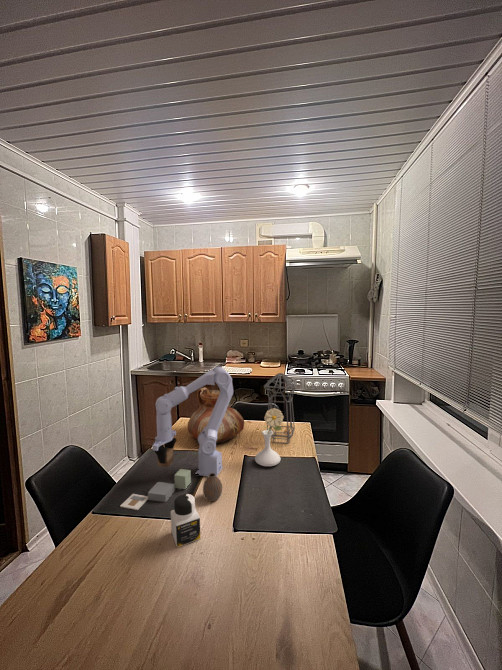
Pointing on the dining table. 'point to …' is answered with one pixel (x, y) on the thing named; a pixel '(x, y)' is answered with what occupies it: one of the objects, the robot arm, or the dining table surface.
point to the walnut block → (167, 458)
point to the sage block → (182, 478)
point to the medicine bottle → (185, 520)
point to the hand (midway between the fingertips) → (165, 459)
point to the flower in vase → (267, 454)
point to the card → (134, 501)
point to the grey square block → (161, 491)
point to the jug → (200, 418)
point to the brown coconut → (212, 487)
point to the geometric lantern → (282, 401)
